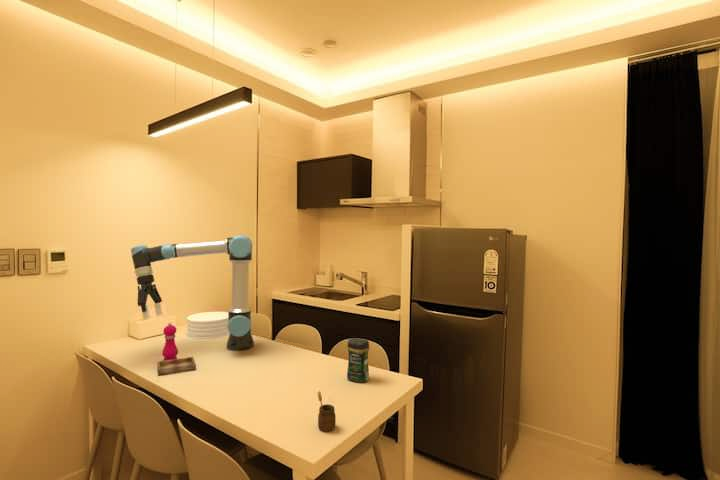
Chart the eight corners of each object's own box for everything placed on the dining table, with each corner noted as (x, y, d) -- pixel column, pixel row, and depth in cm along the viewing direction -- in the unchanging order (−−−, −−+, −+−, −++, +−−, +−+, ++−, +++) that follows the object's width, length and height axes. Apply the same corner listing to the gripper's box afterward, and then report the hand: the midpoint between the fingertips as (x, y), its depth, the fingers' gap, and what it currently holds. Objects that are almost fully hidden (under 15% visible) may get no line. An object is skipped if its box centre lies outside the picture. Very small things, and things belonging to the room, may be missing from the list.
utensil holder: (330, 433, 128) (330, 398, 128) (314, 429, 131) (314, 394, 131) (338, 425, 134) (338, 391, 133) (322, 421, 136) (322, 388, 136)
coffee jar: (344, 380, 174) (344, 339, 173) (353, 374, 181) (353, 335, 180) (363, 384, 169) (363, 342, 168) (371, 378, 176) (371, 338, 175)
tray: (193, 362, 196) (192, 356, 196) (195, 370, 186) (195, 363, 186) (157, 367, 189) (157, 361, 189) (158, 376, 178) (158, 369, 178)
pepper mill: (171, 364, 194) (171, 324, 194) (159, 362, 196) (158, 323, 195) (181, 359, 201) (180, 321, 201) (168, 358, 203) (168, 320, 202)
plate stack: (177, 338, 241) (177, 320, 240) (202, 327, 268) (202, 310, 268) (219, 340, 236) (218, 322, 236) (240, 329, 264) (240, 312, 263)
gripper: (149, 277, 208) (157, 315, 207) (123, 277, 183) (132, 321, 182) (163, 273, 209) (171, 312, 207) (139, 274, 184) (148, 317, 182)
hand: (153, 316), depth 195 cm, fingers open, 13 cm apart
